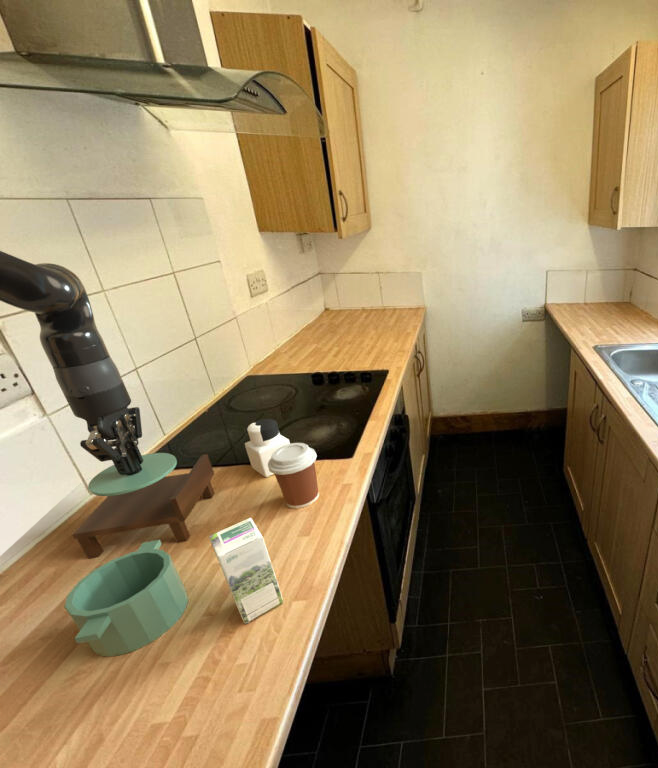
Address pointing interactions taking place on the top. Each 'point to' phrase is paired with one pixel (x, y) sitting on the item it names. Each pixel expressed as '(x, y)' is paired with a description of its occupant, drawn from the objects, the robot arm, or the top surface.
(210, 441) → the top surface
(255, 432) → the medicine bottle
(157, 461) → the lid
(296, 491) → the coffee cup
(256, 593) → the milk carton
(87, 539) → the shelf
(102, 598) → the pot
